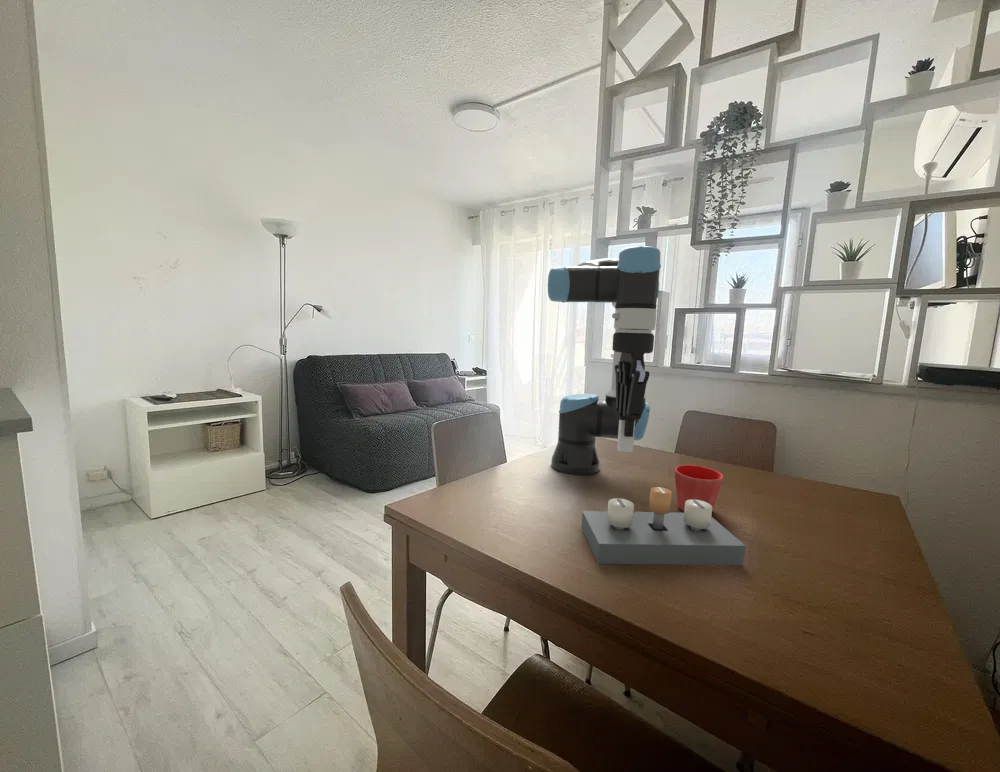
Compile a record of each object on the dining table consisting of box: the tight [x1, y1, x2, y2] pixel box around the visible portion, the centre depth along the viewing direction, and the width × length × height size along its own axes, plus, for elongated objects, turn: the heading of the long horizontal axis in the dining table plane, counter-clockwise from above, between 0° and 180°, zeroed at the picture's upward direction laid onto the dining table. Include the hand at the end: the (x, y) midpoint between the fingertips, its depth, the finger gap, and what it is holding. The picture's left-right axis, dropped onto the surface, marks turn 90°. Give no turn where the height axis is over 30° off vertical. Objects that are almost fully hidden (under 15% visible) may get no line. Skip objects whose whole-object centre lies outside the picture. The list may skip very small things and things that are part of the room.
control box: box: [581, 510, 746, 566], centre depth 86 cm, size 14×28×4 cm, turn 92°
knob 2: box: [683, 500, 713, 531], centre depth 86 cm, size 5×5×8 cm
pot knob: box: [648, 486, 673, 529], centre depth 86 cm, size 4×4×8 cm
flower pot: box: [674, 464, 724, 512], centre depth 104 cm, size 11×11×10 cm
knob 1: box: [607, 498, 635, 530], centre depth 86 cm, size 5×5×8 cm
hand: (624, 450), depth 84 cm, fingers closed
